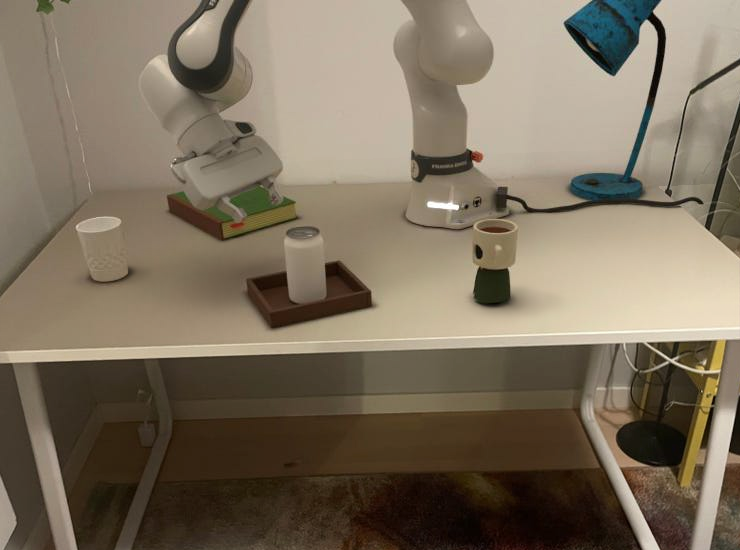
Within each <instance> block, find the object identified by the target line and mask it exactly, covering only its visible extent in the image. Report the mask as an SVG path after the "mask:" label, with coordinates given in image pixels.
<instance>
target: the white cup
mask: <svg viewBox="0 0 740 550" xmlns="http://www.w3.org/2000/svg"><path fill="white" fill-rule="evenodd" d="M122 223H123V222H122V220H121V219H120V218H118V217H115V216H98V217H92V218H88V219H85V220H82V221H81V222H79V223H78V224H76V226H75V230H76V233H77V236H78V240H79V244H80V246H81V250H82V253H83V255H84V259H85V263H86V264H87V266H88V271H89V274H90V277H91V279H92V280H94V281H95V282H100V283H101V282H103V283H105V282H113V281H114V282H115V281H117V280H120V279H122V278H125V277H126V276H127V275H129V267H128V266H129V265H128V260H127V259H128V255H127V249H126V242H125V236H124V230H123V224H122Z"/></svg>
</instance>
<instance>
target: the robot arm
mask: <svg viewBox="0 0 740 550" xmlns="http://www.w3.org/2000/svg"><path fill="white" fill-rule="evenodd" d="M253 1H254V0H201V1H200V3H199V4H198V6H197V8H196V9H195V10H194V12H193V13H192V14H191V15H190V16H189V17H188V18H186V20H185V21H184V22H182V24H180V26H179V27H177V29H176V30H175V31H174V33H173V34H172V36H171V37H170V40H169V42H168V46H167V54H159V55H156V56H155V57H152V58H151V59H150V60H149V61H147V63H146V64H145V66H144V67H143V69H142V70H141V71H140V74H139V78H138V81H137V82H138V83H137V85H138V90H139V94H140V96H141V98H142V100H143V102H144V104H145V105H146V107H147V108H148V110H149V111H150V112H151V114H152V115H153V117H154V118H155V119H156V121H157V122H158V123H159V125H160V126H161V128H163V130H165V131H166V132H168V133H169V134H170V135H171V136H172V138H173V140H174V142H175V144H176V146H177V147H178V149H179V150H180V152H181V153H182V154H183V155H181V156H176V157H174V158H173V159H171V162H170V165H169V166H170V167H169V168H170V172H171V174H172V175H173V176H174V177H175V179H176V180H177V182H178V184H179V186H180V188H181V190H182V191H184V193H185V195H186V196H187V198H188V199H189V201H190V202H191V203H192V205H193V206H194V207H195V208H197V209H199V210H201V211H203V210H205V209H208V208H210V207H212V206H215V205H216V206H217V208H218V209H219V210H220V211H222V212H224V213H226V214H228V215H229V216H231V217H232V218H233V219H234V220H235V222H236V223H240V222H242V221H244V220H245V219H246V218H247V213H246V212H244V210H243V208H242V207H241V208H237V207H236V206H234V205H233V204H231V203H230V202H229V201H230V199H231V198H233V197H235V196H238V195H240V194H242V193H245V192H247V191H249V190H252V189H254V188H256V187H259V186H260V187H262V188H264V189H267V190H268V191H269V194H270V197H269V198H268V200H269V201H270V202H271V203H272V205H273V206H276V205H278V204H280V203H281V202H282V201H283V197H282V196H283V195H282V194H281V193H280V191H279V186H278V182H277V180H276V179H277V178H278V176H280V174H282V172H283V171H284V166H283V162H282V160H281V158H280V156H278V154H277V152H276V151H275V150H274V149H273V148H272V146H271V145H270V144H269V143H268V142H267V141H266V140H265V139H264V138H263V137H262V136H259V135H258V134H256V133H257V132H258V129H257V128H256V127H255V125H254V124H253V123H252V122H250V121H237V120H232V119H224V118H223V117H222V116H221V114H220V113H222V112H224V111H226V110H227V109H229V108H231V107H232V106H234V105H236V104H237V103H239V102H240V101H242V100H243V99H244V98H245V97H246V96H247V94H248V93H249V92H250V91H251V87H252V84H253V75H254V74H253V70H252V69H253V68H252V66H251V63H250V62H249V60H248V58H247V57H246V56H245V55H244V54H243V53H242V52H241V50H240V49H239V48H238V47H237V46H236V44H235V43H236V35H237V31H238V29H239V27H240V25H241V23H242V21H243V20H244V18H245V16H246V14H247V12H248V10H249V8H250V7H251V5H252V2H253ZM400 2H401V3H402V4H403V5H404V6H405V8H407V11H408V13H409V14H410V15H411V18H412V19H409V20H407V21H404V22H403V23H402V24H400V26H399V28H398V29H397V31H396V33H395V35H394V38H393V43H392V44H393V46H392V47H393V49H392V50H393V53H394V57H395V59H396V61H397V62H398V64H399V65H400V67H401V70H402V73H403V76H404V80H405V85H406V87H407V88H406V89H407V92H408V96H409V100H410V106H411V114H412V149H411V151H410V177H411V185H410V194H409V200H408V203H407V208H406V211H405V218H406V219H407V220H408V221H409V222H411V223H414V224H417V225H421V226H426V227H434V228H435V227H437V228H446V229H452V230H462V229H465V228H468V227H473V226H474V224H475V223H477V222H478V221H482V220H486V219H500V218H503V217H505V216H509V214H510V207H509V206H508V201H512V202H513V201H514V202H516V203H519V204H521V206H522V208H523V209H524V210H525V211H526V212H529V213H554V212H561V211H569V210H575V209H579V208H582V207H587V206H591V205H601V204H639V205H648V206H659V207H675V206H681V205H683V204H686V203H689V202H695V203H697V204H698V205H700V206H701V205H705V202H704V201H703V200H702V199H701V198H699V197H696V196H689V197H685V198H683V199H679V200H675V201H657V200H649V199H640V198H635V199H600V200H586V201H583V202H578V203H574V204H569V205H561V206H554V207H548V208H533V207H529V206H528V204H527V202H526V201H525V200H524V199H523V198H520V197H517V196H514V195H510V194H508V191H509V187H508V186H497V184H496V182H495V181H494V180H493V179H492V178H491V177H489V176H488V175H486V174H485V173H484V172H482V171H481V170H480V169H479V168H477V167H476V166H474V162H476V163H482V161H483V160H484V154H483V153H482V152H479V151H477V150H474V151H473V150H471V149H469V148H467V145H468V144H467V142H468V118H469V117H468V116H469V115H468V110H467V107H466V104H464V102H463V100H462V98H461V96H460V92H459V90H458V86H466V85H473V84H477V83H479V82H480V81H482V80H483V79H484V78H486V76H487V74H488V73H489V71H490V70H491V68H492V66H493V63H494V56H495V49H494V44H493V41H492V39H491V37H490V36H489V35H488V34H487V33H486V32H485V30H484V29H483V28H482V27H481V25H480V24H479V23H478V21H477V20H476V18H475V16H474V14H473V12H472V10H471V8H470V5H469V3H468V1H467V0H400Z"/></svg>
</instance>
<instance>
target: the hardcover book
mask: <svg viewBox="0 0 740 550" xmlns="http://www.w3.org/2000/svg"><path fill="white" fill-rule="evenodd" d="M269 197H270V194H269V191H268V189H264V187H263V186H259V187H256V188H254V189H252V190H249V191H247V192H245V193H242V194H240V195H238V196H235V197H233V198H231V199H230V201H229V202H230V203H231V204H233V205H234V206H236V207H237V208H241V207H242V208H243V210H244V212H246V213H247V218H246V219H245V220H244V221H242V222H240V223H236V222H235V220H234V219H233V218H232V217H231V216H229V215H228V214H226V213H224V212H222V211H220V210H219V209H218V208H217V206H216V205H215V206H212V207H210V208H208V209H205V210H203V211H201V210H199V209H197V208H195V207H194V206H193V205H192V203H191V202H190V201H189V199H188V198H187V196H186V195H185V193H184V191H183V190H182V191H178V192H174V193H171V194H167V195H166V200H167V205H168V211H169V212H170V213H172V214H174V216H177V217H179V218H180V219H182V220H184V221H186V222H188V223H190V224H191V225H193V226H195V227H197V228H198V229H200V230H202V231H204V232H205V233H207V234H209V235H211V236H213V237H214V238H217V240H220V241H226V240H228V239H232V238H236V237H238V236H241V235H246V234H249V233H253V232H256V231H260V230H262V229H266V228H269V227H273V226H276V225H279V224H283V223H286V222H290V221H293V220H296V219H298V217H297V216H296V203H297V201H296V200H293V199H291V198H288V197H286V196H284V195H282V197H283V201H282V202H281V203H280V204H278V205H276V206H273V205H272V203H271V202H270V201H269V200H268V198H269Z"/></svg>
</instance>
